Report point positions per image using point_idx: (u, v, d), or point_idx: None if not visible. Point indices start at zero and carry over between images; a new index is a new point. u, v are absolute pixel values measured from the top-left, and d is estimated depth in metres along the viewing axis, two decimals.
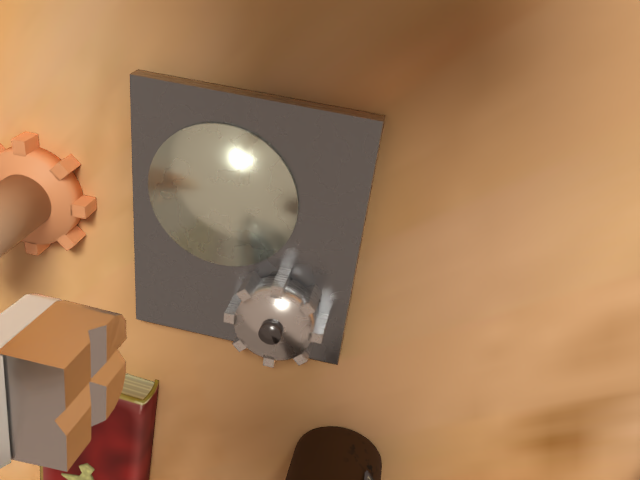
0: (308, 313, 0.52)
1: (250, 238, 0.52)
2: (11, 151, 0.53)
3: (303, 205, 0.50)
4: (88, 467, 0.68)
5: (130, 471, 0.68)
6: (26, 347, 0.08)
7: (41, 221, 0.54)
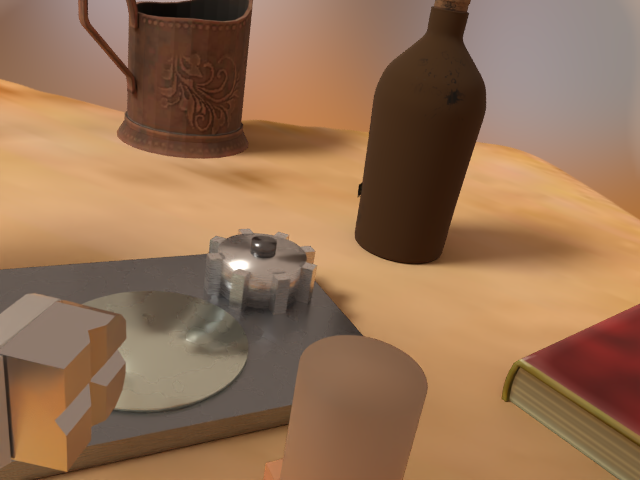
0: (222, 238, 0.50)
1: (186, 313, 0.44)
2: None
3: None
4: None
5: (608, 326, 0.48)
6: (26, 346, 0.08)
7: None
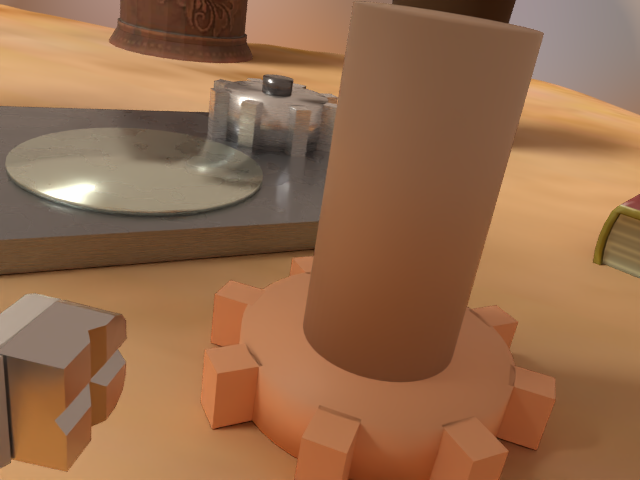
0: (228, 81, 0.42)
1: (186, 146, 0.36)
2: (263, 381, 0.18)
3: None
4: None
5: None
6: (26, 346, 0.08)
7: None
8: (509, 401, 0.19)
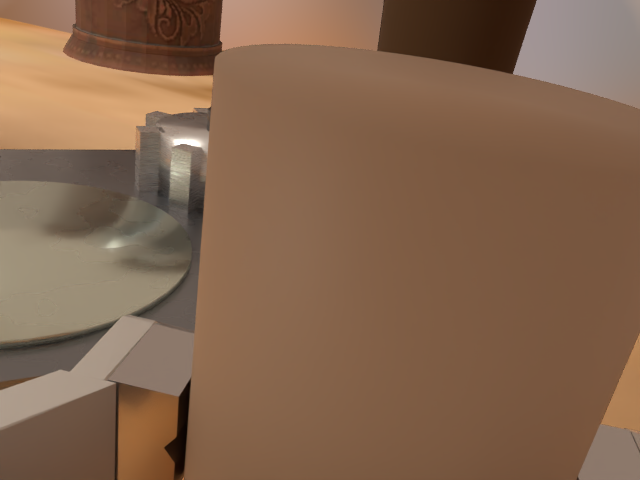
0: (166, 114, 0.33)
1: (95, 210, 0.27)
2: None
3: None
4: None
5: None
6: (137, 373, 0.08)
7: None
8: None
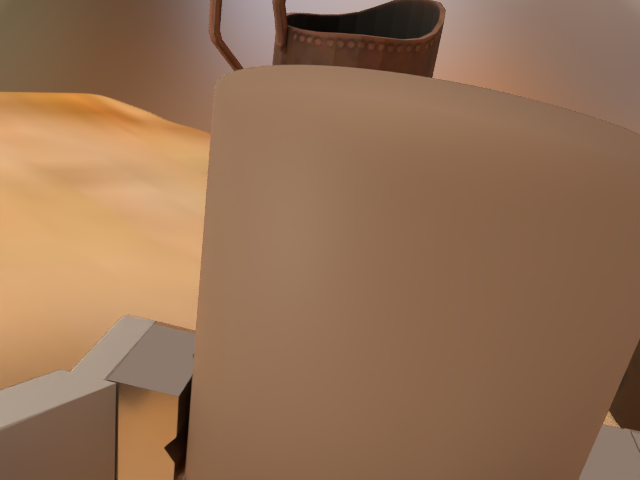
0: None
1: None
2: None
3: None
4: None
5: None
6: (136, 373, 0.08)
7: None
8: None
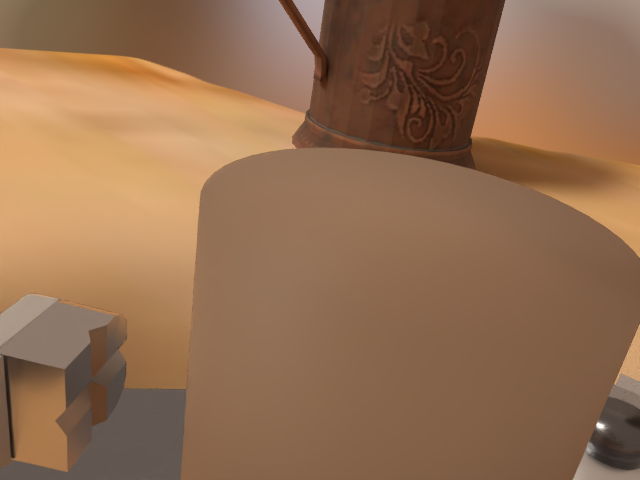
0: None
1: None
2: None
3: None
4: None
5: None
6: (26, 346, 0.08)
7: None
8: None
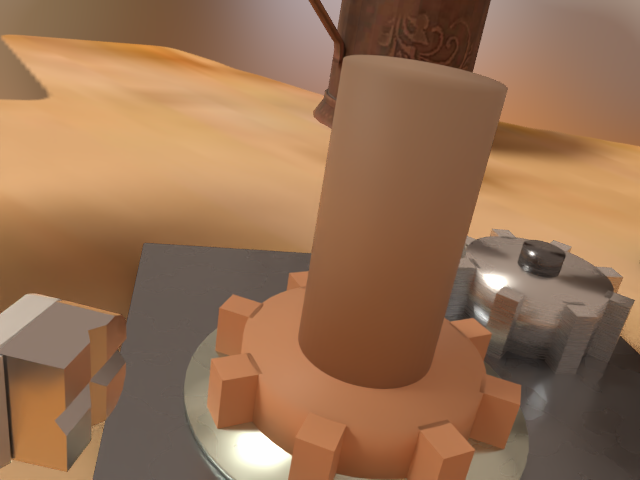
0: (470, 238, 0.32)
1: None
2: (263, 387, 0.20)
3: None
4: None
5: None
6: (26, 346, 0.08)
7: None
8: (480, 406, 0.21)
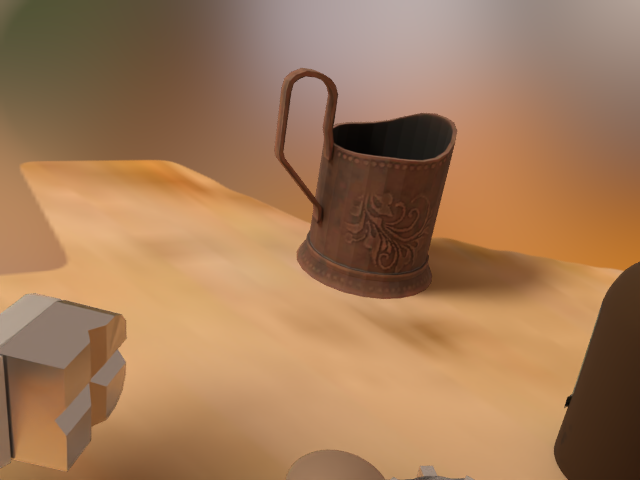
0: None
1: None
2: None
3: None
4: None
5: None
6: (26, 346, 0.08)
7: None
8: None
